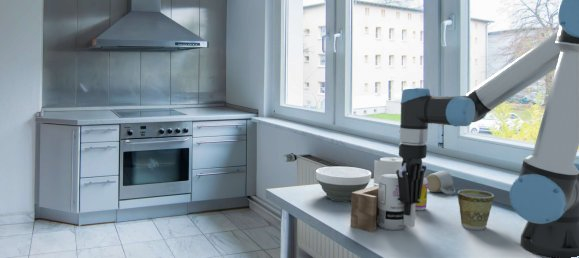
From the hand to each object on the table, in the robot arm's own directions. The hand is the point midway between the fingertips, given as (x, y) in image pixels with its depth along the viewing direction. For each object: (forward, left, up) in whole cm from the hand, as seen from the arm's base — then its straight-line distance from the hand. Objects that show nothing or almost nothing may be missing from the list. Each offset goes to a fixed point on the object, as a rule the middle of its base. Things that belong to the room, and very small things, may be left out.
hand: (408, 225), depth 141 cm
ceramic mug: (+15, -52, -2) cm, 54 cm away
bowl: (+35, -16, -2) cm, 39 cm away
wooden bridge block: (+10, 0, -2) cm, 10 cm away
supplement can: (+6, 0, -2) cm, 6 cm away
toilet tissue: (+35, -49, -2) cm, 61 cm away
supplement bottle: (+10, -23, -2) cm, 25 cm away
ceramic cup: (-12, -19, -2) cm, 22 cm away
